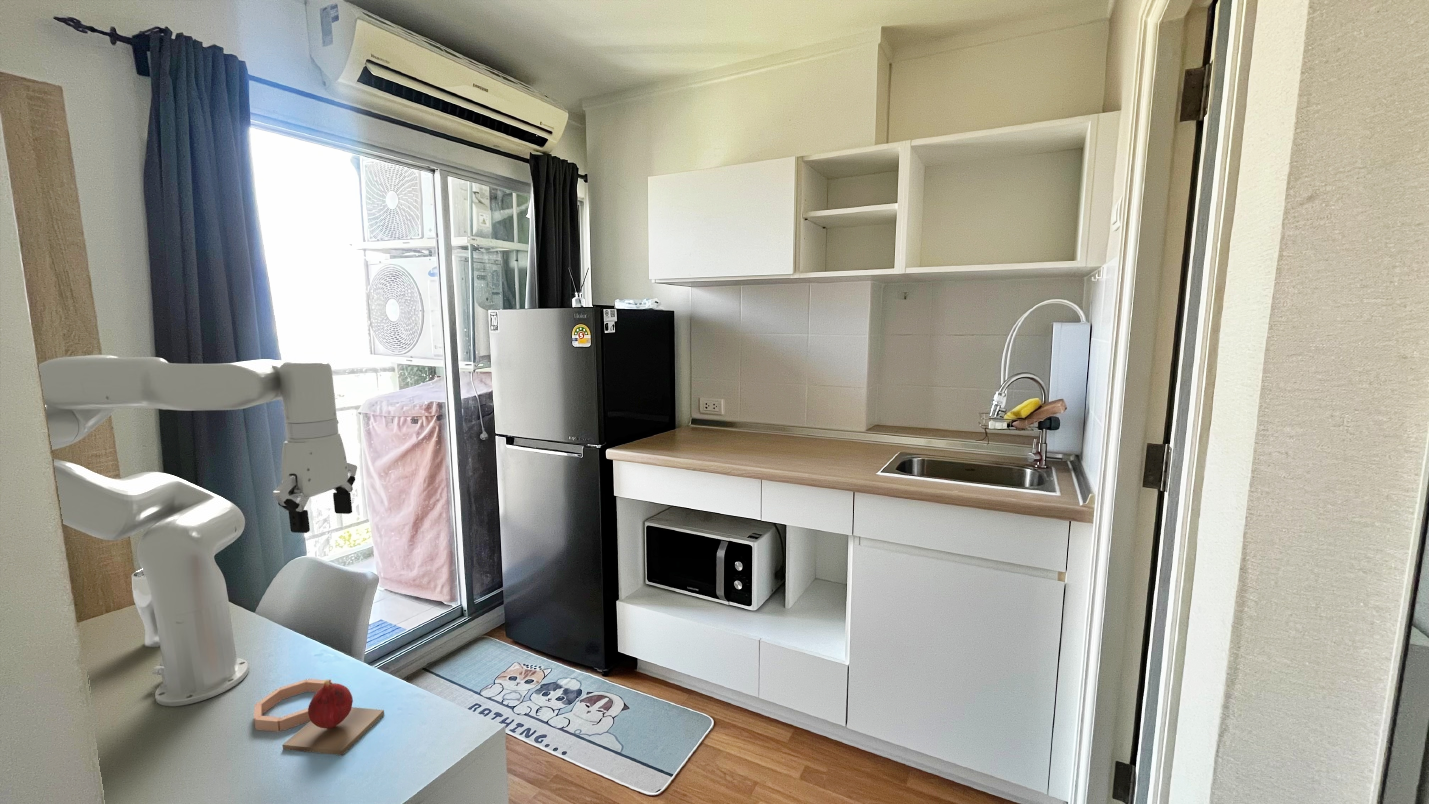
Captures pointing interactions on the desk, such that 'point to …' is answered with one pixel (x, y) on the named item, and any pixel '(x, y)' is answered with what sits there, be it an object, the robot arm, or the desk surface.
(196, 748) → the desk surface
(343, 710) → the onion
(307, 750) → the board
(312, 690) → the ring holder
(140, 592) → the beer glass
